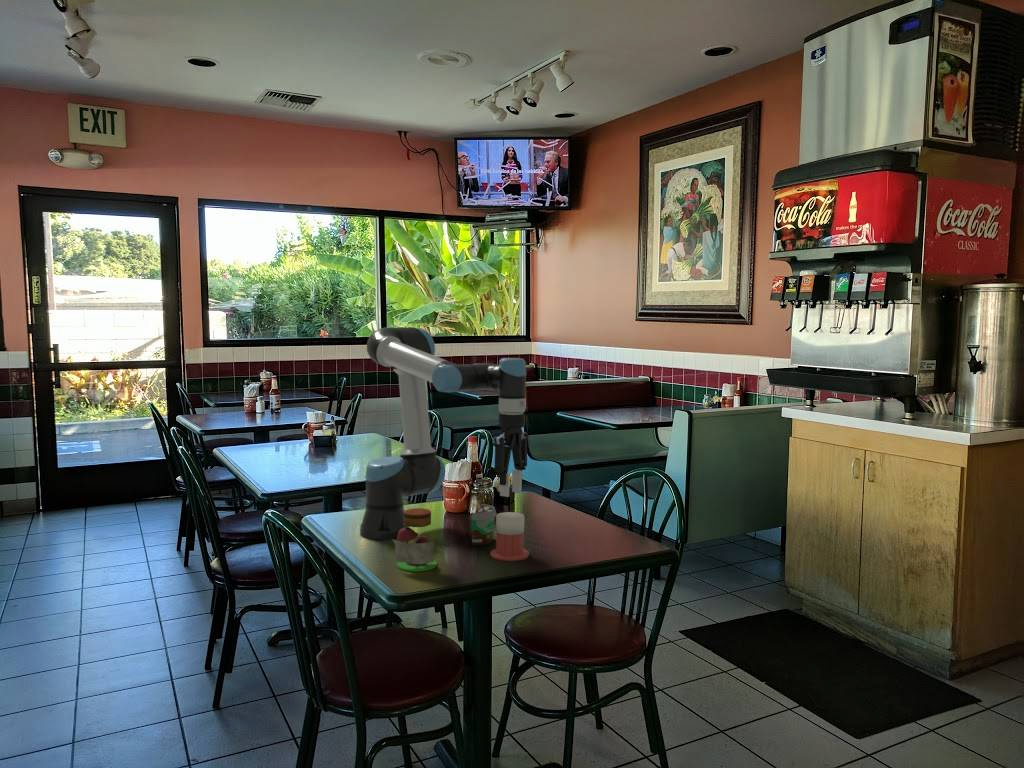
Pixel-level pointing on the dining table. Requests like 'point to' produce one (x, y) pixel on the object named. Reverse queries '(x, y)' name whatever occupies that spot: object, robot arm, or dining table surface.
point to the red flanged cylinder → (509, 548)
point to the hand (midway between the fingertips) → (510, 493)
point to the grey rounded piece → (510, 523)
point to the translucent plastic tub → (418, 552)
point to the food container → (483, 524)
